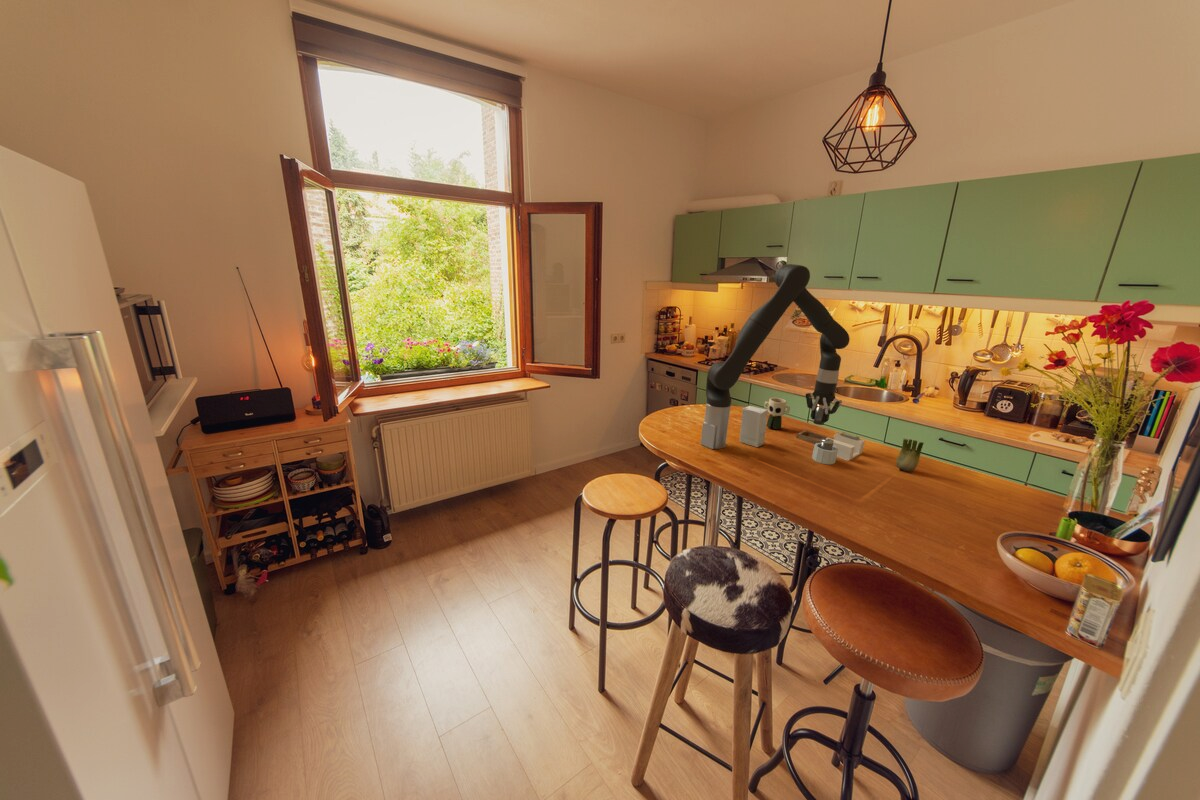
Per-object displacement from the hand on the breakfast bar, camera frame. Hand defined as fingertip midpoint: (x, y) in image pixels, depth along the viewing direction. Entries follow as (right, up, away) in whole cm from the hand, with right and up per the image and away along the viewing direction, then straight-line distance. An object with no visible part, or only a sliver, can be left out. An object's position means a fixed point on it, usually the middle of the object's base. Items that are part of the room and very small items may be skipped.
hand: (819, 420), depth 175 cm
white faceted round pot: (-6, -15, -15) cm, 22 cm away
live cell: (0, -1, 0) cm, 1 cm away
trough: (0, -9, +3) cm, 10 cm away
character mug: (-11, -4, +18) cm, 22 cm away
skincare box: (-28, -9, 0) cm, 29 cm away
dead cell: (-6, -14, -15) cm, 21 cm away
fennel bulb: (+21, -17, -19) cm, 33 cm away
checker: (+5, -13, -8) cm, 16 cm away
